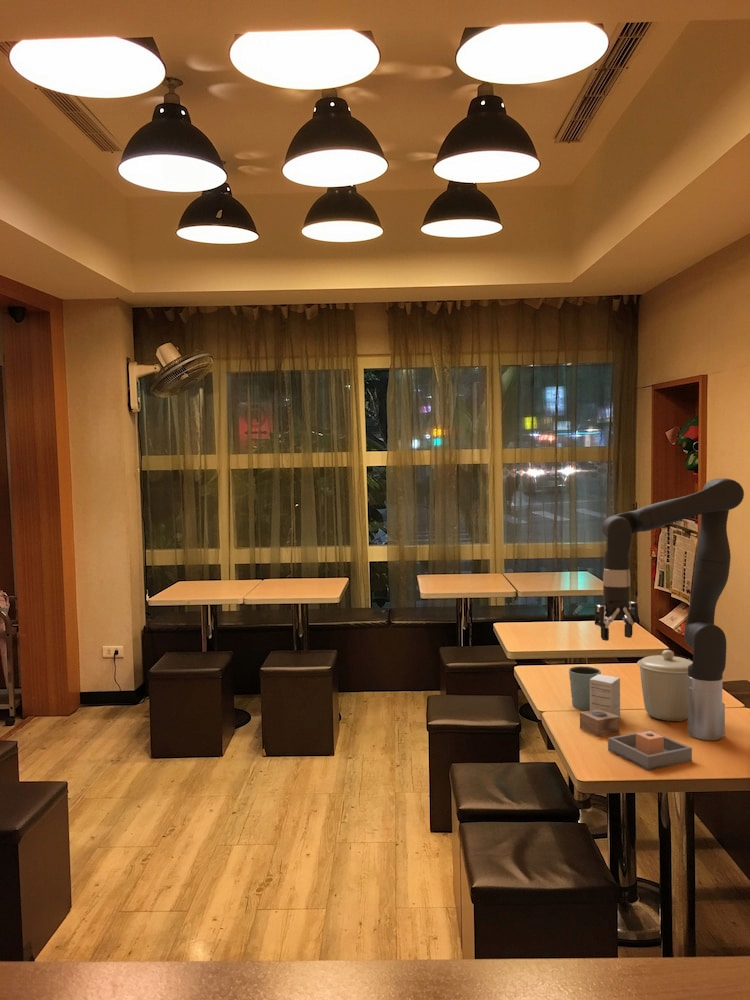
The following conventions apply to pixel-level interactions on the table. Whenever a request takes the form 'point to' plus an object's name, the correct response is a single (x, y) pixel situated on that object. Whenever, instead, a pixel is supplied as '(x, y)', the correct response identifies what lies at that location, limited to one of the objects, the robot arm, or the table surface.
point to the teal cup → (581, 685)
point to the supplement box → (605, 693)
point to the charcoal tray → (669, 757)
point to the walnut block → (599, 722)
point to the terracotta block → (649, 742)
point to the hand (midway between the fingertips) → (616, 638)
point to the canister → (665, 686)
